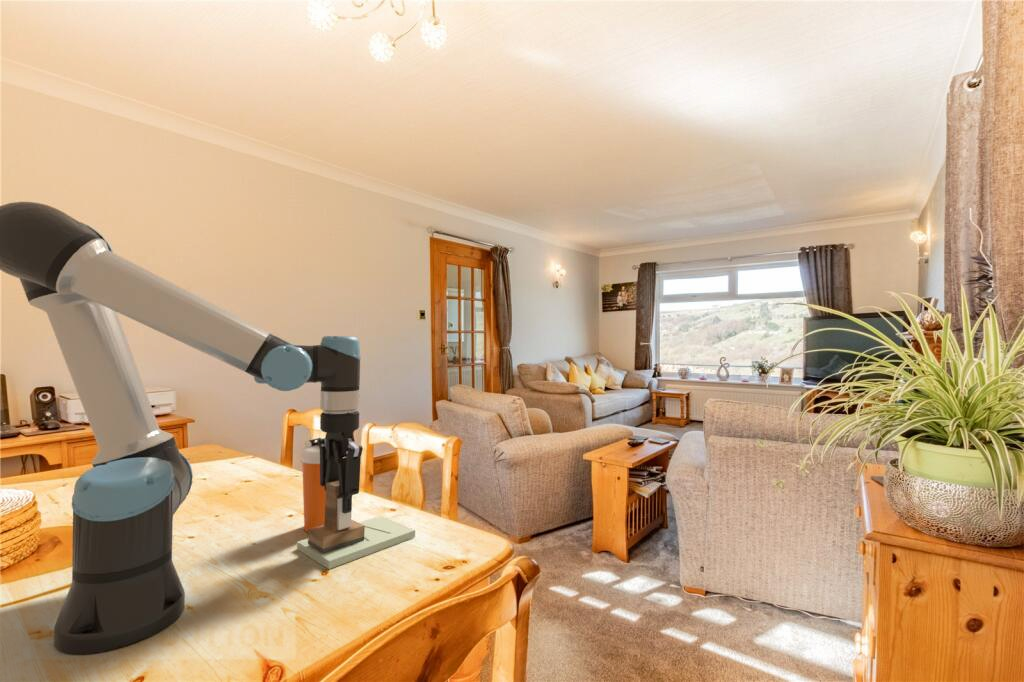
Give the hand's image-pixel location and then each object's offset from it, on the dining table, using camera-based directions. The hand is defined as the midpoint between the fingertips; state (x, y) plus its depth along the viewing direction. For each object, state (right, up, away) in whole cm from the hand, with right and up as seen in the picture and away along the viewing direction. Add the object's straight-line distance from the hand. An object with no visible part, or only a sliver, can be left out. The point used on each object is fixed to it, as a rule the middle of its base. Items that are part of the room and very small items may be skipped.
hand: (338, 524), depth 97 cm
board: (+3, -5, +3) cm, 7 cm away
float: (0, -3, 0) cm, 3 cm away
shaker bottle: (-8, -5, +12) cm, 15 cm away
